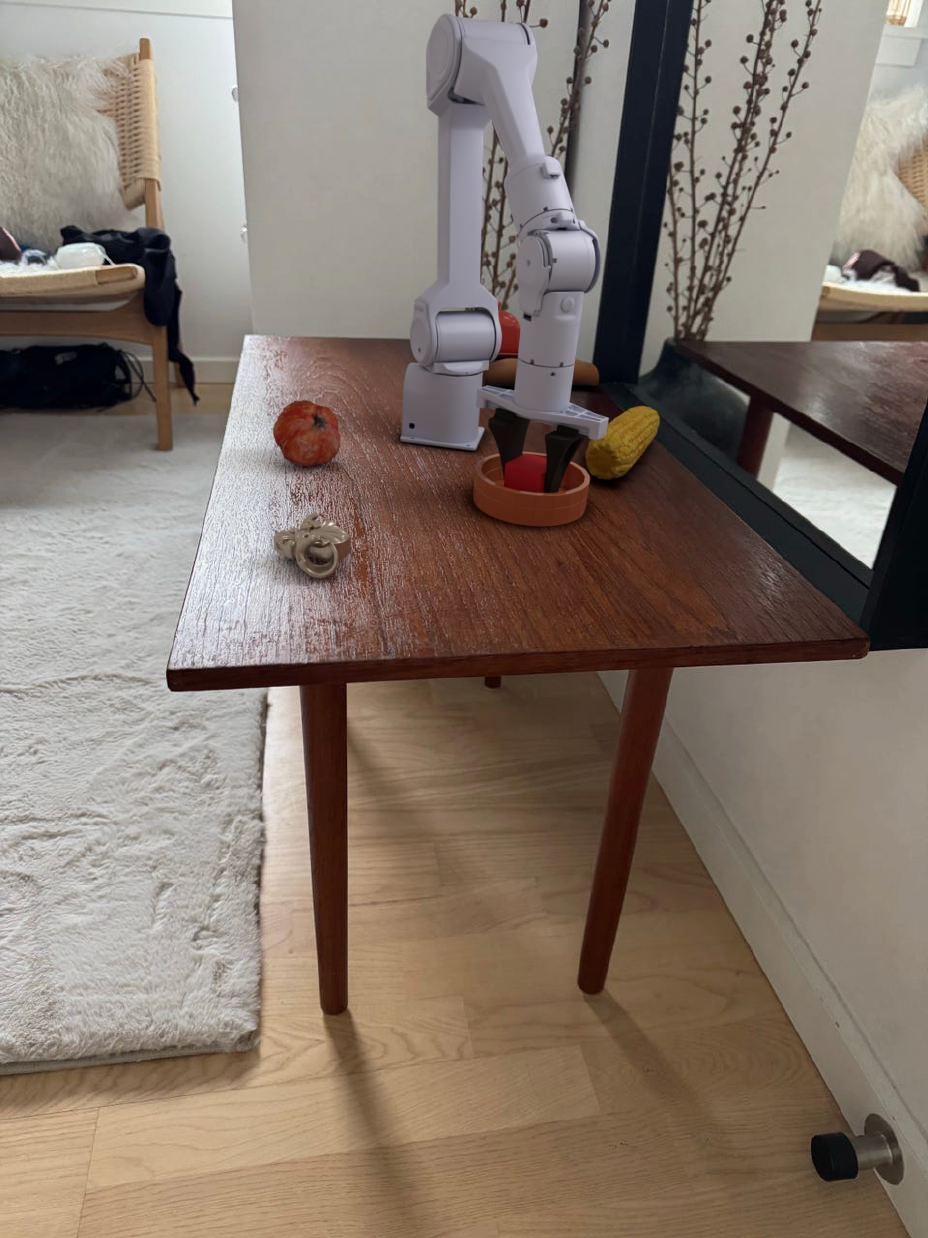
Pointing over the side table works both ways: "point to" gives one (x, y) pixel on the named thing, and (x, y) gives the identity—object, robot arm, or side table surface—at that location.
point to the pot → (530, 496)
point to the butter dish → (508, 334)
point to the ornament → (314, 545)
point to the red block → (526, 474)
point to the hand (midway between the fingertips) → (531, 486)
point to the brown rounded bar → (506, 370)
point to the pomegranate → (307, 433)
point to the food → (622, 443)
